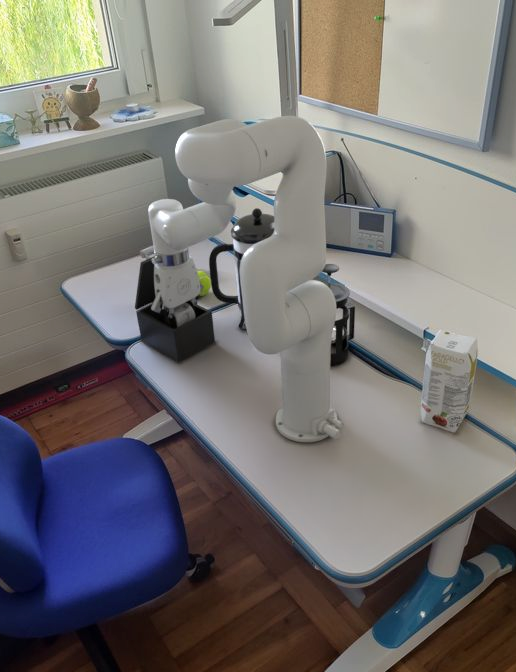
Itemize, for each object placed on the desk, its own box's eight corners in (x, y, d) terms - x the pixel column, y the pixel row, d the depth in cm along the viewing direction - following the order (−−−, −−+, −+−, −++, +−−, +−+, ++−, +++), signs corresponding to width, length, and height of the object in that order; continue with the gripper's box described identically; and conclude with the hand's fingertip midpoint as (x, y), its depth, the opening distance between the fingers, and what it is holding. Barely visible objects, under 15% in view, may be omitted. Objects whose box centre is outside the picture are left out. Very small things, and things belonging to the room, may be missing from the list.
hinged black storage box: (215, 342, 161) (211, 311, 156) (178, 363, 155) (173, 331, 150) (177, 322, 170) (173, 292, 165) (141, 341, 164) (135, 310, 159)
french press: (319, 372, 149) (319, 281, 136) (298, 352, 156) (296, 264, 143) (362, 357, 153) (366, 268, 140) (341, 338, 160) (342, 251, 147)
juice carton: (458, 437, 128) (470, 357, 118) (415, 423, 132) (424, 344, 122) (470, 415, 134) (483, 336, 123) (429, 402, 138) (438, 325, 127)
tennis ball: (181, 295, 182) (178, 272, 178) (201, 286, 186) (198, 263, 182) (197, 303, 178) (194, 280, 174) (217, 294, 181) (214, 271, 177)
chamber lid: (182, 246, 153) (168, 233, 155) (142, 264, 147) (128, 250, 148) (174, 291, 165) (161, 278, 167) (136, 310, 158) (123, 296, 160)
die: (179, 333, 155) (177, 314, 152) (167, 325, 158) (164, 307, 155) (196, 325, 157) (194, 306, 154) (184, 317, 160) (181, 299, 158)
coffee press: (268, 297, 178) (263, 190, 161) (304, 321, 167) (301, 209, 150) (213, 318, 171) (201, 208, 154) (246, 345, 159) (237, 230, 143)
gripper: (151, 274, 140) (163, 345, 150) (211, 246, 150) (219, 315, 160) (131, 264, 145) (143, 333, 155) (190, 238, 154) (198, 305, 164)
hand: (181, 323), depth 157 cm, fingers closed on die, 5 cm apart
